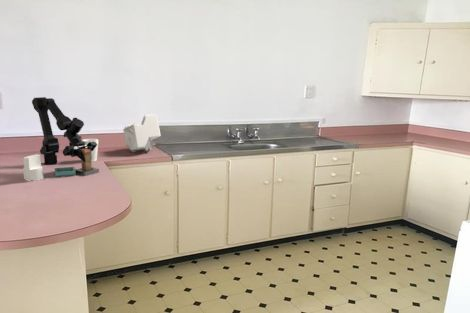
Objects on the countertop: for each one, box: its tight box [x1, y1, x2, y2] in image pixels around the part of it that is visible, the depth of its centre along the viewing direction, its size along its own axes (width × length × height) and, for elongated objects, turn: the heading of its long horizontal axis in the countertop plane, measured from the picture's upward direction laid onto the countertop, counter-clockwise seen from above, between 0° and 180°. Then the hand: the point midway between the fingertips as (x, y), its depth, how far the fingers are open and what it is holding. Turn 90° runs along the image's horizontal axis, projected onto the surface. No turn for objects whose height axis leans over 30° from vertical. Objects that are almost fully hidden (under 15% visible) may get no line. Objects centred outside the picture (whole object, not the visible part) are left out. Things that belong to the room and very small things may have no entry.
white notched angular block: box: [122, 113, 162, 153], centre depth 267 cm, size 20×16×25 cm
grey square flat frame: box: [75, 166, 100, 177], centre depth 213 cm, size 9×9×2 cm
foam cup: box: [81, 138, 99, 163], centre depth 239 cm, size 10×9×13 cm
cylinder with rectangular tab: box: [22, 153, 44, 181], centre depth 198 cm, size 9×9×12 cm
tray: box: [54, 166, 76, 178], centre depth 209 cm, size 10×10×2 cm
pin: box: [80, 149, 93, 171], centre depth 211 cm, size 4×4×13 cm
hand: (87, 160), depth 211 cm, fingers closed on pin, 4 cm apart
